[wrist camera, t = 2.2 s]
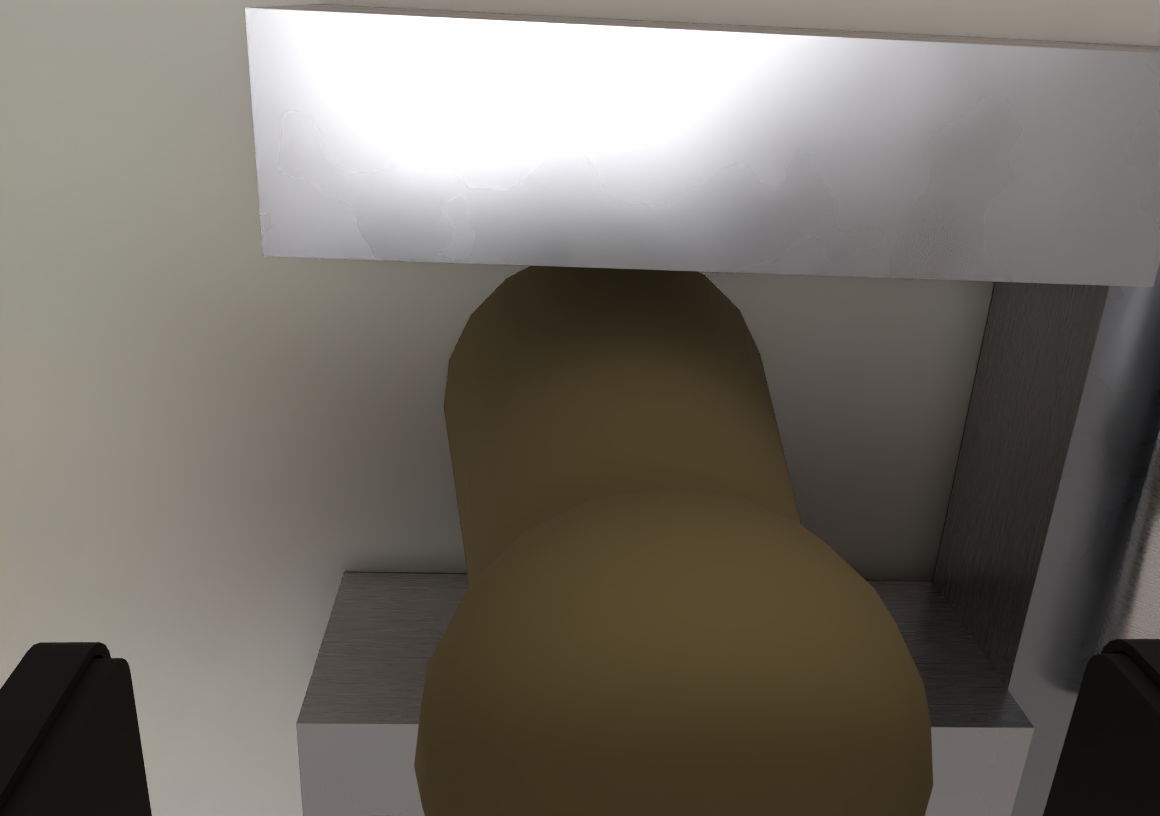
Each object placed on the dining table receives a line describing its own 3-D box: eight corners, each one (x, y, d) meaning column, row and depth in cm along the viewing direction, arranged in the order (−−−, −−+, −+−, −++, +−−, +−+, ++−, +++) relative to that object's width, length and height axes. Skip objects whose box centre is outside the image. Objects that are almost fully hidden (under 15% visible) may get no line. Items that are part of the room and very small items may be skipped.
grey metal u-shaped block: (1217, 49, 17) (1453, 68, 13) (1042, 701, 22) (1167, 873, 18) (317, 4, 16) (240, 7, 12) (349, 695, 21) (304, 876, 17)
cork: (637, 594, 21) (743, 1177, 10) (381, 441, 19) (217, 951, 9) (830, 365, 19) (1182, 796, 9) (567, 177, 17) (624, 436, 7)
